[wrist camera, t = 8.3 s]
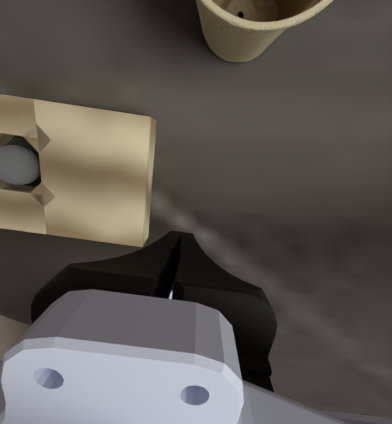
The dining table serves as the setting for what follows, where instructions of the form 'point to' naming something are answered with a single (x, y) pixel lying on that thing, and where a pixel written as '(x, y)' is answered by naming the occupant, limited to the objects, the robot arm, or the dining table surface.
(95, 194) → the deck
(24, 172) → the ball
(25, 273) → the dining table surface
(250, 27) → the flower pot
